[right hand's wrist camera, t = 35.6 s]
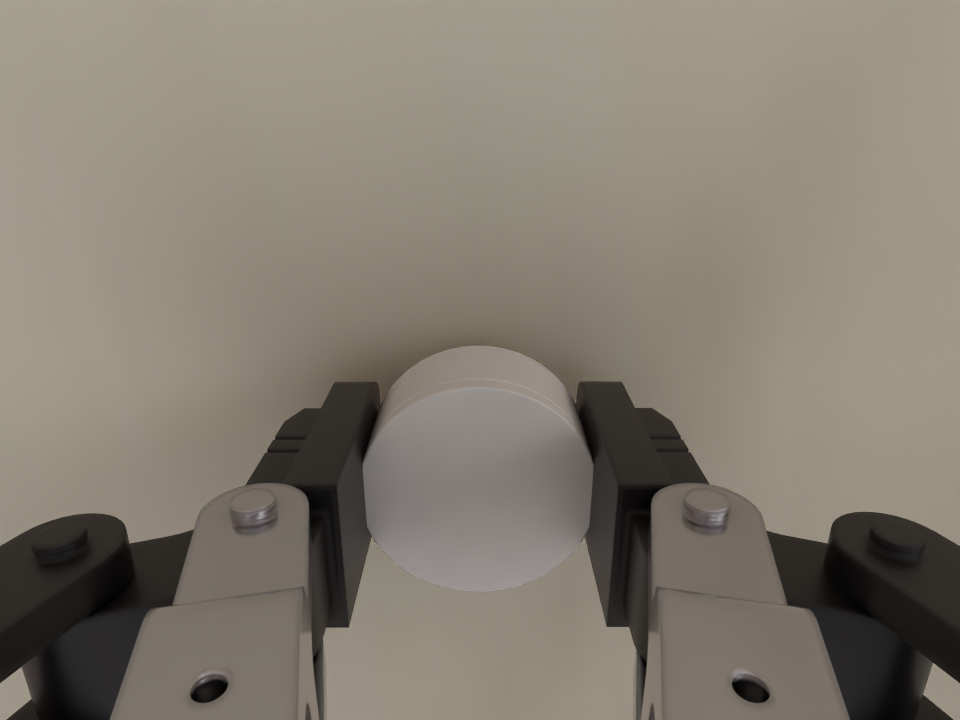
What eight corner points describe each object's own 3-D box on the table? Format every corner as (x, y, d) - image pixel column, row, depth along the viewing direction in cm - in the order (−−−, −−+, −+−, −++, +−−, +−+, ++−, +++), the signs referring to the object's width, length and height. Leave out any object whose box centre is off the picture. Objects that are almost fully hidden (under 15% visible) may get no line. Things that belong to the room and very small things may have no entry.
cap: (369, 517, 13) (352, 582, 11) (381, 333, 11) (364, 374, 10) (564, 536, 13) (577, 602, 11) (599, 355, 11) (618, 400, 10)
